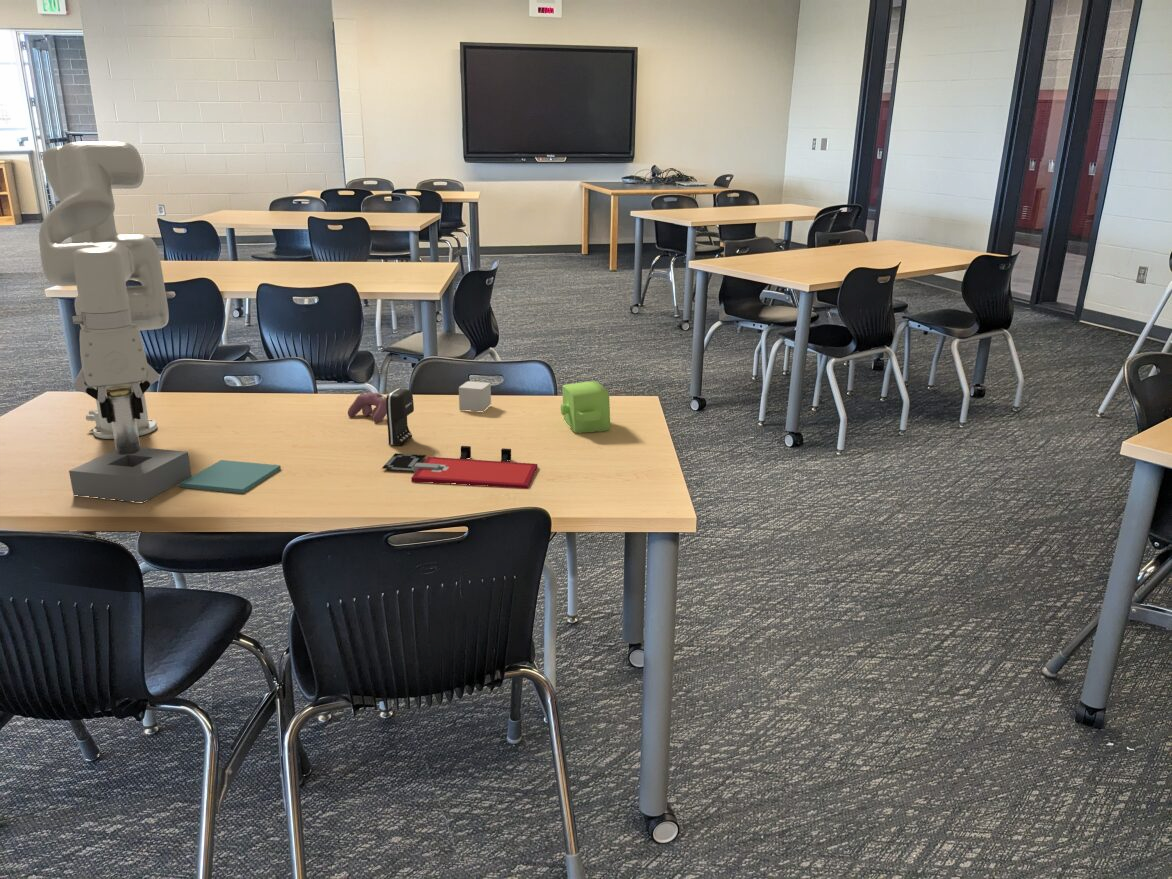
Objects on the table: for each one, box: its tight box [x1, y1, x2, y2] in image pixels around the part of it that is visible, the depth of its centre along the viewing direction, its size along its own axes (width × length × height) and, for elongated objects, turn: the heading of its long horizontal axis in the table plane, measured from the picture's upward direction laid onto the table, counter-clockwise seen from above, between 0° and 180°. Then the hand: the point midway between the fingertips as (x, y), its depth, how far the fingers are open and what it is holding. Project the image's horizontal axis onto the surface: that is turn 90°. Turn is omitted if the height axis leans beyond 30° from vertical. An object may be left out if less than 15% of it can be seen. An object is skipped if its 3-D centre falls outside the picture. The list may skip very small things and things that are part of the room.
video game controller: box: [347, 391, 387, 424], centre depth 204 cm, size 10×5×7 cm, turn 58°
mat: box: [179, 459, 282, 494], centre depth 166 cm, size 13×13×1 cm
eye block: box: [68, 446, 192, 503], centre depth 161 cm, size 14×14×5 cm
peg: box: [106, 385, 141, 455], centre depth 158 cm, size 4×4×12 cm
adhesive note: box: [458, 380, 492, 412], centre depth 212 cm, size 6×6×6 cm
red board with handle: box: [381, 445, 538, 489], centre depth 172 cm, size 30×3×15 cm
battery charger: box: [385, 388, 415, 446], centre depth 186 cm, size 7×4×11 cm, turn 168°
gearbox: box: [560, 380, 611, 434], centre depth 200 cm, size 18×10×10 cm, turn 15°
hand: (123, 418), depth 158 cm, fingers closed on peg, 4 cm apart
